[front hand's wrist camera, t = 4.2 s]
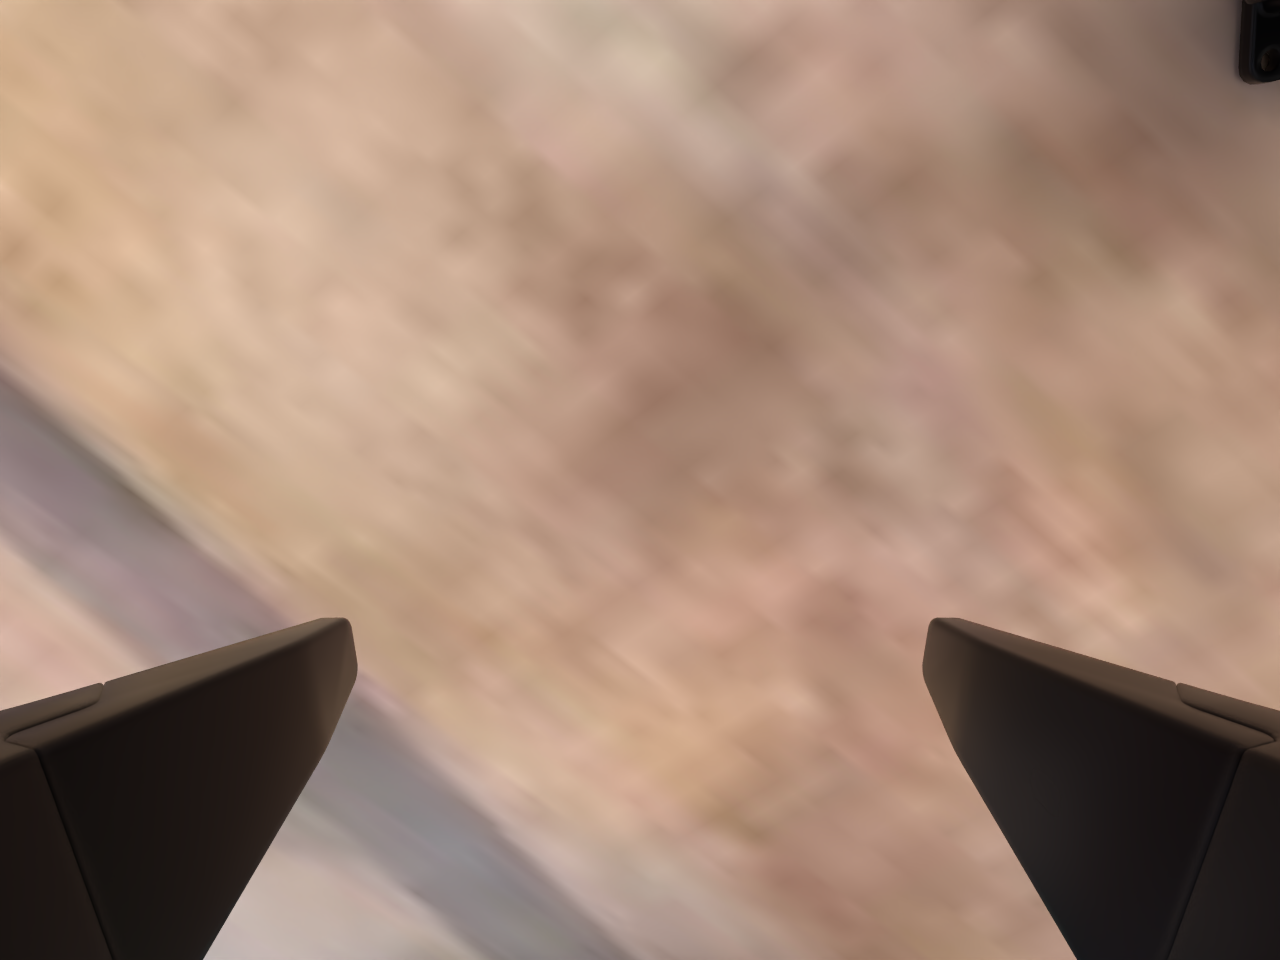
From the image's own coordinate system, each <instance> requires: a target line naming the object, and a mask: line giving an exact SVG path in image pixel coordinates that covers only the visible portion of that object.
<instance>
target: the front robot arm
mask: <svg viewBox="0 0 1280 960" xmlns="http://www.w3.org/2000/svg"><path fill="white" fill-rule="evenodd" d="M1265 53H1267V54H1268V55H1269V64H1268V66H1267V68H1266V69H1265V70H1263V69H1262V68H1261V59H1262V56H1263V55H1264V54H1265ZM1239 74H1240V77H1241V78H1242V79H1243V81H1244V82H1246V83H1248V84H1261V83H1267V82H1272V81H1276V80H1280V0H1242V16H1241V34H1240V52H1239ZM356 676H357V658H356V651H355V645H354V639H353V633H352V627H351V624H350V622H349V621H348V620H347V619H346V618H320V619H316V620H313V621H310V622H306V623H303V624H300V625H296V626H293V627H289V628H286V629H283V630H279V631H276V632H273V633H269V634H266V635H262V636H259V637H256V638H252V639H249V640H246V641H242V642H239V643H235V644H232V645H229V646H225V647H222V648H218V649H215V650H212V651H208V652H205V653H202V654H198V655H195V656H191V657H188V658H185V659H181V660H178V661H175V662H171V663H168V664H164V665H161V666H158V667H154V668H151V669H148V670H144V671H141V672H137V673H134V674H131V675H127V676H124V677H120V678H117V679H114V680H110V681H107V682H105V684H104V686H103V684H102V683H97V684H93V685H90V686H87V687H83V688H80V689H76V690H73V691H70V692H66V693H63V694H59V695H56V696H52V697H49V698H45V699H42V700H38V701H35V702H31V703H27V704H24V705H20V706H16V707H13V708H9V709H5V710H2V711H0V960H203V959H204V957H205V955H206V954H207V952H208V950H209V948H210V947H211V945H212V943H213V942H214V940H215V938H216V936H217V935H218V933H219V931H220V930H221V928H222V926H223V925H224V923H225V921H226V919H227V918H228V916H229V914H230V913H231V911H232V909H233V908H234V906H235V904H236V902H237V901H238V899H239V897H240V896H241V894H242V892H243V891H244V889H245V887H246V885H247V884H248V882H249V880H250V879H251V877H252V875H253V874H254V872H255V870H256V868H257V867H258V865H259V863H260V862H261V860H262V858H263V856H264V855H265V853H266V851H267V850H268V848H269V846H270V845H271V843H272V841H273V839H274V838H275V836H276V834H277V833H278V831H279V829H280V828H281V826H282V824H283V822H284V821H285V819H286V817H287V816H288V814H289V812H290V811H291V809H292V807H293V805H294V804H295V802H296V800H297V799H298V797H299V795H300V794H301V792H302V790H303V788H304V787H305V785H306V783H307V782H308V780H309V778H310V777H311V775H312V773H313V771H314V770H315V768H316V766H317V765H318V763H319V761H320V759H321V757H322V756H323V754H324V752H325V750H326V748H327V746H328V744H329V742H330V739H331V737H332V735H333V732H334V730H335V728H336V725H337V723H338V721H339V718H340V716H341V714H342V711H343V709H344V707H345V704H346V702H347V700H348V697H349V695H350V693H351V690H352V688H353V686H354V683H355V680H356ZM923 676H924V680H925V683H926V686H927V688H928V690H929V693H930V695H931V697H932V700H933V702H934V704H935V707H936V709H937V711H938V714H939V716H940V718H941V721H942V723H943V725H944V728H945V730H946V732H947V735H948V737H949V739H950V742H951V744H952V746H953V748H954V750H955V752H956V754H957V756H958V757H959V759H960V761H961V763H962V765H963V766H964V768H965V770H966V771H967V773H968V775H969V777H970V778H971V780H972V782H973V783H974V785H975V787H976V788H977V790H978V792H979V794H980V795H981V797H982V799H983V800H984V802H985V804H986V805H987V807H988V809H989V811H990V812H991V814H992V816H993V817H994V819H995V821H996V822H997V824H998V826H999V828H1000V829H1001V831H1002V833H1003V834H1004V836H1005V838H1006V839H1007V841H1008V843H1009V845H1010V846H1011V848H1012V850H1013V851H1014V853H1015V855H1016V857H1017V858H1018V860H1019V862H1020V863H1021V865H1022V867H1023V868H1024V870H1025V872H1026V874H1027V875H1028V877H1029V879H1030V880H1031V882H1032V884H1033V885H1034V887H1035V889H1036V891H1037V892H1038V894H1039V896H1040V897H1041V899H1042V901H1043V902H1044V904H1045V906H1046V908H1047V909H1048V911H1049V913H1050V914H1051V916H1052V918H1053V919H1054V921H1055V923H1056V925H1057V926H1058V928H1059V930H1060V931H1061V933H1062V935H1063V936H1064V938H1065V940H1066V942H1067V943H1068V945H1069V947H1070V948H1071V950H1072V952H1073V954H1074V955H1075V957H1076V959H1077V960H1280V711H1278V710H1275V709H1271V708H1267V707H1264V706H1260V705H1256V704H1253V703H1249V702H1245V701H1242V700H1238V699H1235V698H1231V697H1228V696H1224V695H1221V694H1217V693H1214V692H1210V691H1207V690H1204V689H1200V688H1197V687H1193V686H1190V685H1187V684H1183V683H1178V684H1177V686H1176V684H1175V682H1173V681H1170V680H1166V679H1163V678H1160V677H1156V676H1153V675H1149V674H1146V673H1143V672H1139V671H1136V670H1132V669H1129V668H1126V667H1122V666H1119V665H1116V664H1112V663H1109V662H1105V661H1102V660H1099V659H1095V658H1092V657H1089V656H1085V655H1082V654H1078V653H1075V652H1072V651H1068V650H1065V649H1062V648H1058V647H1055V646H1051V645H1048V644H1045V643H1041V642H1038V641H1034V640H1031V639H1028V638H1024V637H1021V636H1018V635H1014V634H1011V633H1007V632H1004V631H1001V630H997V629H994V628H991V627H987V626H984V625H980V624H977V623H974V622H970V621H967V620H964V619H960V618H934V619H933V620H932V621H931V622H930V624H929V627H928V633H927V639H926V645H925V651H924V658H923Z"/></svg>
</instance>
